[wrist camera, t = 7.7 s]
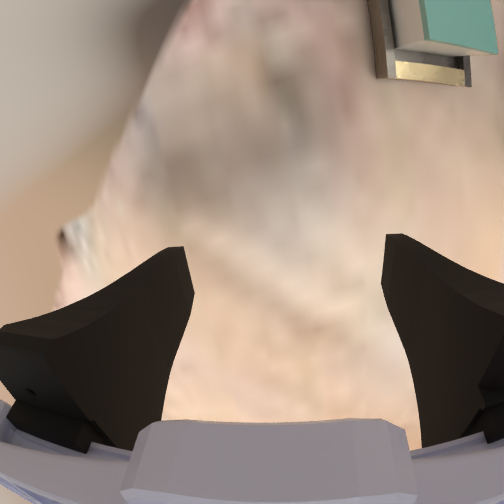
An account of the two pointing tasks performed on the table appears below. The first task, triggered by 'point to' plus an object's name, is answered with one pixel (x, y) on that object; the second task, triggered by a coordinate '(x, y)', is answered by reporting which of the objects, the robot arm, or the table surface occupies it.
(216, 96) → the table surface
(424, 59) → the grey rectangular tray
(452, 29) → the teal rectangular brick
